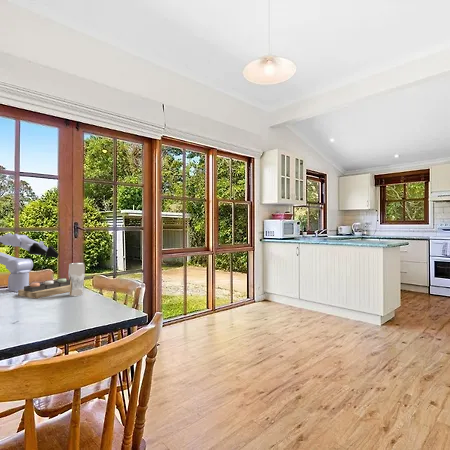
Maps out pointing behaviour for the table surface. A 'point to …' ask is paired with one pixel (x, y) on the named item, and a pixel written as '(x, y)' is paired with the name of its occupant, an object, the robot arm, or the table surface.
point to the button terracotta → (34, 284)
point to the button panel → (45, 290)
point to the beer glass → (76, 278)
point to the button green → (61, 280)
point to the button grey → (48, 282)
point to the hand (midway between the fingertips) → (51, 254)
